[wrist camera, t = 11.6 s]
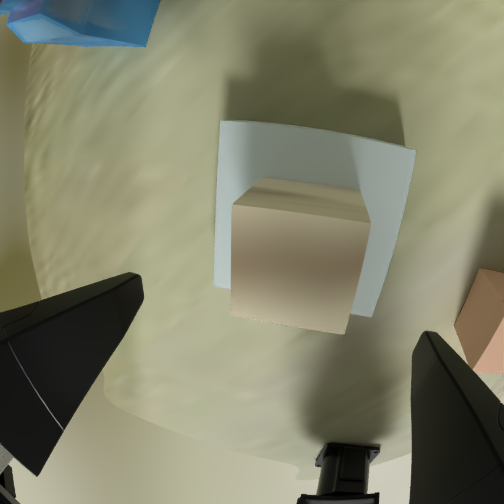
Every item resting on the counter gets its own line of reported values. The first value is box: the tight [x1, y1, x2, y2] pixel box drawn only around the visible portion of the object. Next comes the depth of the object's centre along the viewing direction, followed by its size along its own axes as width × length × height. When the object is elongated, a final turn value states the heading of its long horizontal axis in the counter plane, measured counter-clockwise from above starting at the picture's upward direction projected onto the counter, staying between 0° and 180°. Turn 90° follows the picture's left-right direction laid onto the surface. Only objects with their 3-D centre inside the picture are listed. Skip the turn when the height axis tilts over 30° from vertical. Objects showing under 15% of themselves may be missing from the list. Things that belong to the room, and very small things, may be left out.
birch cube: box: [231, 177, 371, 335], centre depth 14 cm, size 5×5×5 cm
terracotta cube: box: [454, 268, 504, 373], centre depth 15 cm, size 5×5×5 cm
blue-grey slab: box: [214, 120, 416, 318], centre depth 17 cm, size 10×10×3 cm
